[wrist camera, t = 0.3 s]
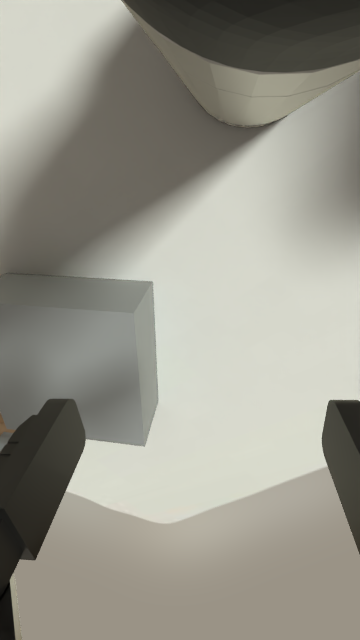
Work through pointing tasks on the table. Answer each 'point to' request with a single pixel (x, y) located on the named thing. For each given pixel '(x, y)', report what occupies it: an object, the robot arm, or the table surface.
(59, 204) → the table surface
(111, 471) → the table surface
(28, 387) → the block
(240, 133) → the table surface
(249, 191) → the table surface
